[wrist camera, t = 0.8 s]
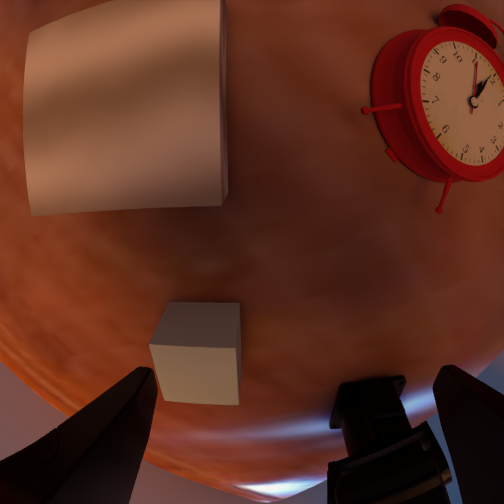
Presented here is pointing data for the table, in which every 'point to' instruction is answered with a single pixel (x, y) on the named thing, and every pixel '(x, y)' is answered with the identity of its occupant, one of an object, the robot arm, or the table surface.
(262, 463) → the table surface
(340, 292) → the table surface
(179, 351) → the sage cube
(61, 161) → the maple block
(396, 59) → the alarm clock
